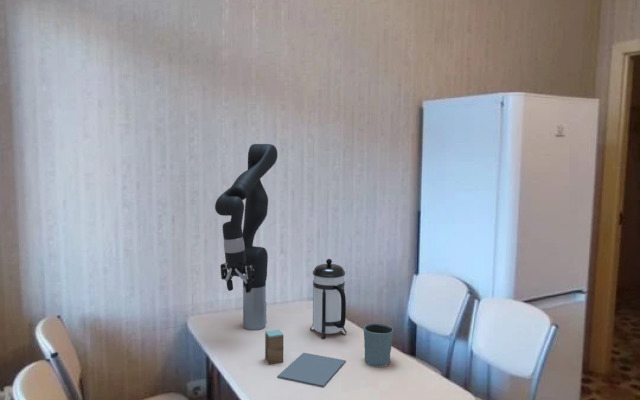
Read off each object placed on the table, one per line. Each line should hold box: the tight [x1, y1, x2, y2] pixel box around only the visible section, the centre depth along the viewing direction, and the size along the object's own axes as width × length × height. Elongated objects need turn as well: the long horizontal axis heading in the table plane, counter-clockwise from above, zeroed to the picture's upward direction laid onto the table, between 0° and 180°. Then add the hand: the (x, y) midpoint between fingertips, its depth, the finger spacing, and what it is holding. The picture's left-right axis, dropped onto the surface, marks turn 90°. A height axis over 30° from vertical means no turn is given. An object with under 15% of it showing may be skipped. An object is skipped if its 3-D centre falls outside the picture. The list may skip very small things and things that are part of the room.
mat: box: [276, 352, 346, 388], centre depth 165 cm, size 20×16×1 cm
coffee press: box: [309, 258, 347, 340], centre depth 195 cm, size 17×16×30 cm
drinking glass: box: [363, 322, 394, 368], centre depth 171 cm, size 10×10×12 cm
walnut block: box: [264, 329, 284, 365], centre depth 171 cm, size 5×5×10 cm
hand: (239, 291), depth 187 cm, fingers open, 8 cm apart
